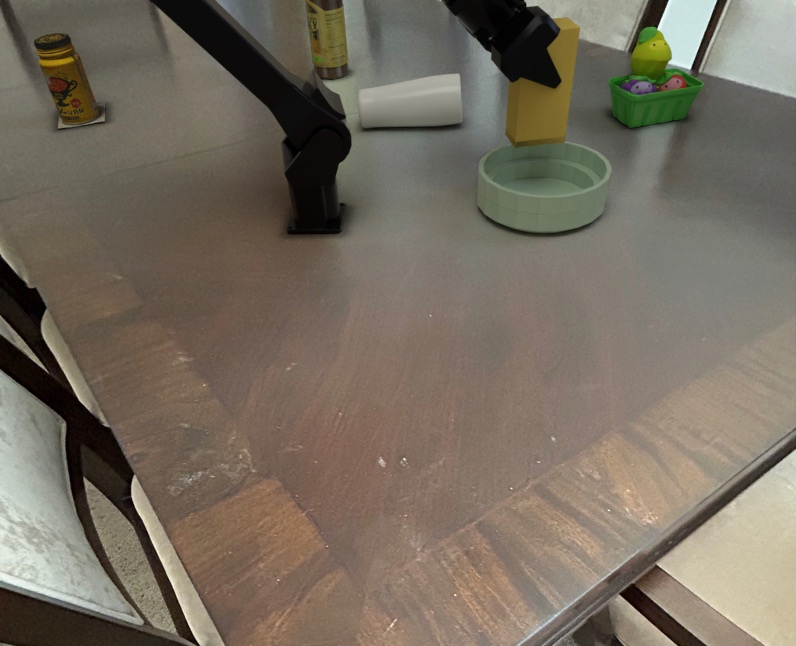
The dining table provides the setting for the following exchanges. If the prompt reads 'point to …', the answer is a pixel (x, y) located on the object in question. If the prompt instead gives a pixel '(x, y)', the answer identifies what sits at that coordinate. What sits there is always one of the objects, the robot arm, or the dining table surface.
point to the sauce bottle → (327, 37)
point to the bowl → (543, 186)
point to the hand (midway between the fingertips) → (551, 78)
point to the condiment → (67, 81)
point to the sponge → (544, 96)
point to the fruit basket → (652, 85)
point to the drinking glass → (412, 103)
